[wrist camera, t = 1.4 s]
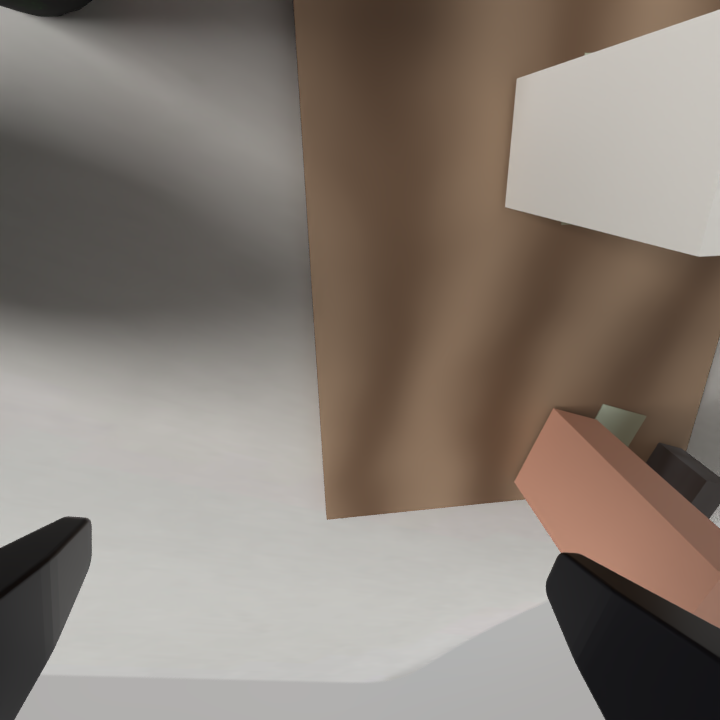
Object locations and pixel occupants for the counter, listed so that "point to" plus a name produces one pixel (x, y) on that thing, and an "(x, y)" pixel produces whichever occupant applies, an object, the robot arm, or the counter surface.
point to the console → (477, 261)
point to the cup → (45, 6)
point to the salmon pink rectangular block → (621, 513)
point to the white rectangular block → (626, 139)
